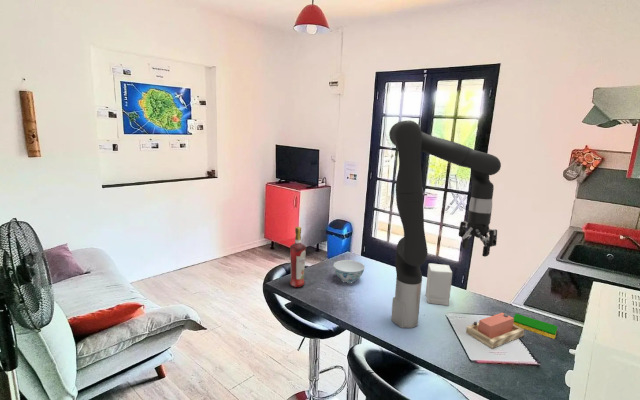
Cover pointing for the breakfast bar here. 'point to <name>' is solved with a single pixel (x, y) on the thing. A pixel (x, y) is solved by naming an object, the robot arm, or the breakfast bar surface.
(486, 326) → the salmon pink brick
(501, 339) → the wooden tray
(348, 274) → the chinaware
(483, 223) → the robot arm
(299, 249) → the liquor
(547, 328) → the dish sponge
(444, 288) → the supplement box
